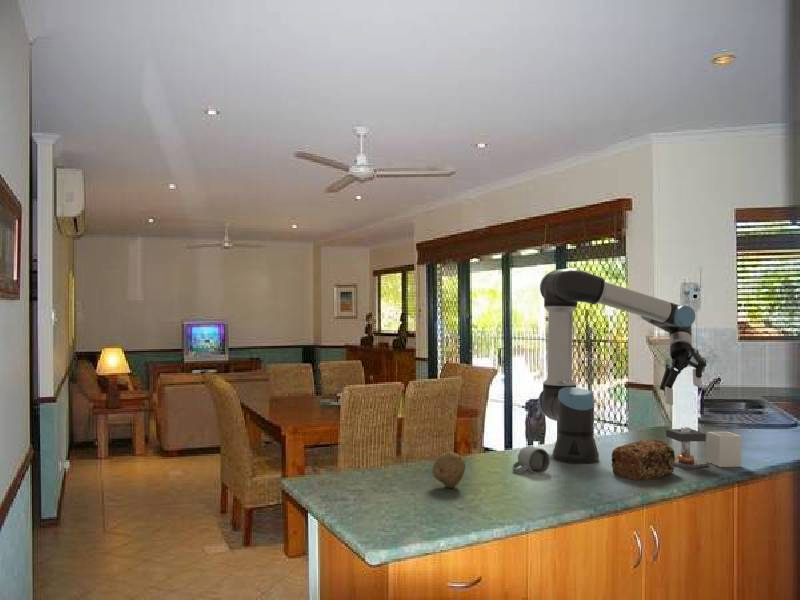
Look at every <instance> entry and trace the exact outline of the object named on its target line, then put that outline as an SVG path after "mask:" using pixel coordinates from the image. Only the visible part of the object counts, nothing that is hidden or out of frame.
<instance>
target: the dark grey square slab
mask: <svg viewBox="0 0 800 600" xmlns="http://www.w3.org/2000/svg"><path fill="white" fill-rule="evenodd" d="M665 436H666V437H667V438H669V439H672V440H674V441H678V442H680V443H681V442H686V441H690V442H707V433H705V432H702V431H699V430H696V429H692V428H690V432H688V433H683V432H681V428H671V429H670V428H666V429H665Z"/></svg>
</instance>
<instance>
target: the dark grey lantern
mask: <svg viewBox="0 0 800 600" xmlns="http://www.w3.org/2000/svg"><path fill="white" fill-rule="evenodd" d="M680 429H681V432H683V433H688V432H690V429H691V427H690V426H689V427H687V426H681V427H680ZM677 466H678V468H681V469H685V470H690V469H691V468H693V469H698V468H697V467H700V468H705V466H707V467H710V463H708V462H707V461H702V460H698V459H695V456H694V455H693V454H691V441H686V442H680V453H678V454H676V457H675V463H674V467H677Z"/></svg>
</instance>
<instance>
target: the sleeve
mask: <svg viewBox="0 0 800 600" xmlns="http://www.w3.org/2000/svg"><path fill="white" fill-rule="evenodd" d="M708 462H709V464H711V463H712V464H711V465H713V464H714V465H713V466H716V465H717V466H716V467H718V466H719V468H739V467H740V468H741V467H742V435H740V434H736V433H733V432H729V431H707V432H706V463H708Z"/></svg>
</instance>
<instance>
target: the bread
mask: <svg viewBox="0 0 800 600" xmlns="http://www.w3.org/2000/svg"><path fill="white" fill-rule="evenodd" d="M675 458H676V455H675V451H674V448H672V447H671V446H669V444H667V443H665V442H663V441H662V440H659V439H651V438H649V439H648V438H647V439H642V440H640V441H637V440H636V441H635V442H631V443H626V444H624V445H620V446H617V447H615V448H614V449H613V450H612V452H611V468H612V473H613V475H615V476H618V477H619V476H620V478H628V480H629V479H630V480H633V481H636V482H637V481H638V482H643V481H647V479H648V480H651V479H655V478H660V477H662V476H667V475H670V474H672V473H674V470H675V466H674V463H675Z"/></svg>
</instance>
